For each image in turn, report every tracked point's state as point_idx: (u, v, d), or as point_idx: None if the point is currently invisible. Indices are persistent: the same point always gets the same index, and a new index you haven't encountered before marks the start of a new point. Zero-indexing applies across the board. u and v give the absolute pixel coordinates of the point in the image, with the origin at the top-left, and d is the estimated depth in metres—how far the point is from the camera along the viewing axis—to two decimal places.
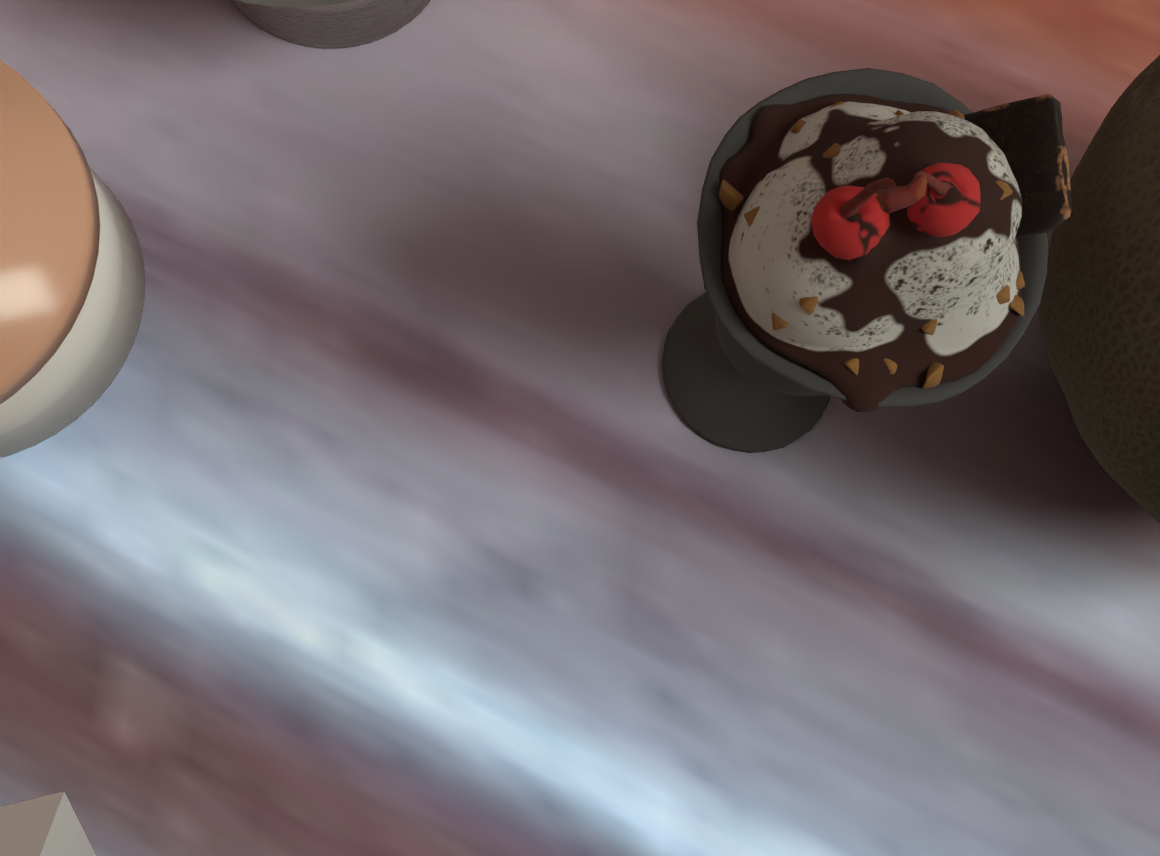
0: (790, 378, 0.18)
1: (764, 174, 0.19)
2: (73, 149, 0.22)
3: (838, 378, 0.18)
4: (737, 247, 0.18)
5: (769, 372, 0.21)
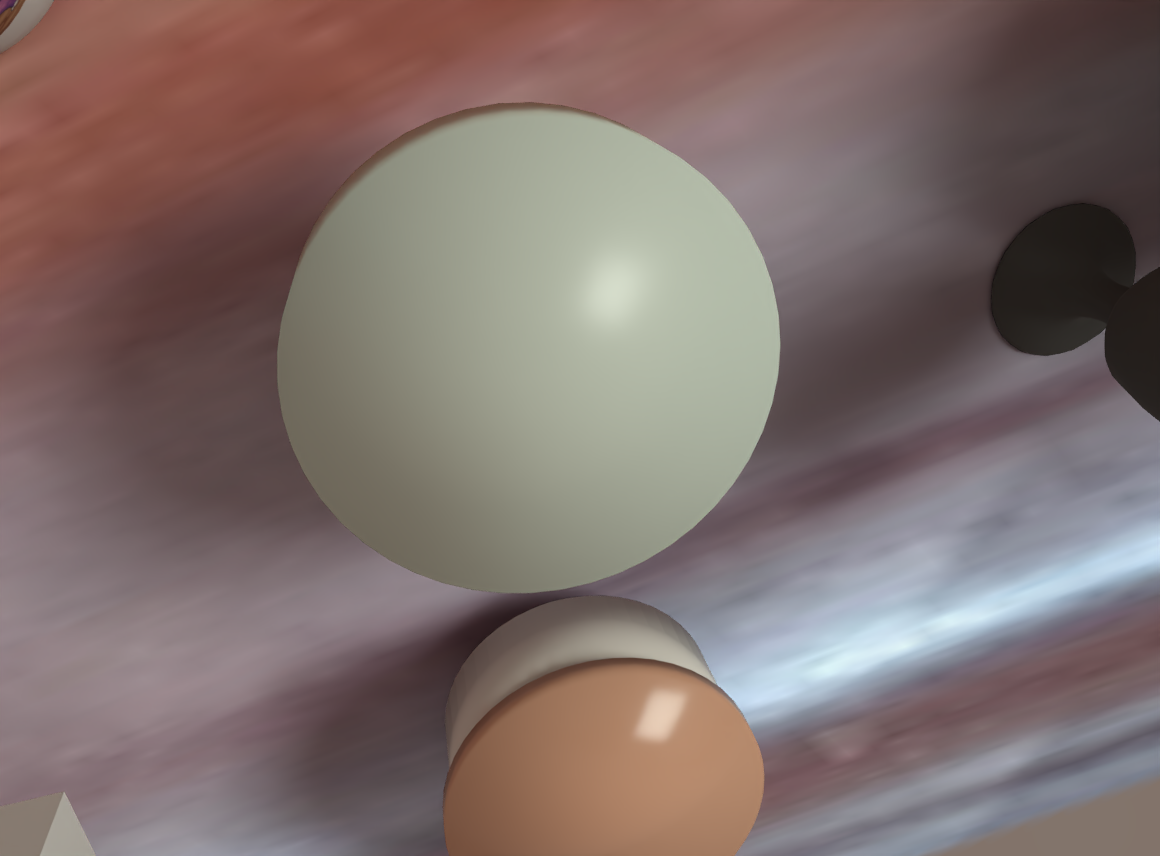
0: None
1: None
2: (671, 678, 0.28)
3: None
4: None
5: None
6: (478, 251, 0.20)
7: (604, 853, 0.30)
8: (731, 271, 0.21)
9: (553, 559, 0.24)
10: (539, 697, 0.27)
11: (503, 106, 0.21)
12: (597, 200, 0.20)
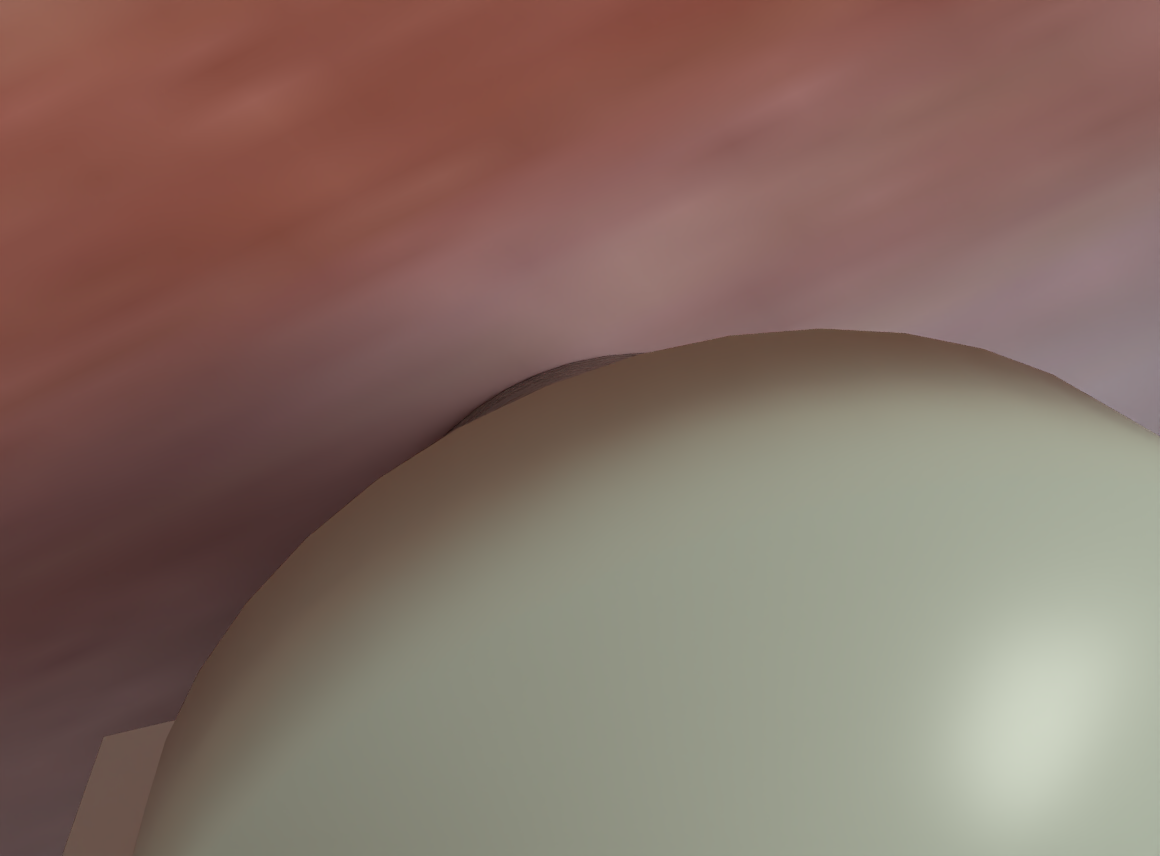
0: None
1: None
2: None
3: None
4: None
5: None
6: None
7: None
8: None
9: None
10: None
11: (762, 361, 0.07)
12: (1101, 701, 0.06)
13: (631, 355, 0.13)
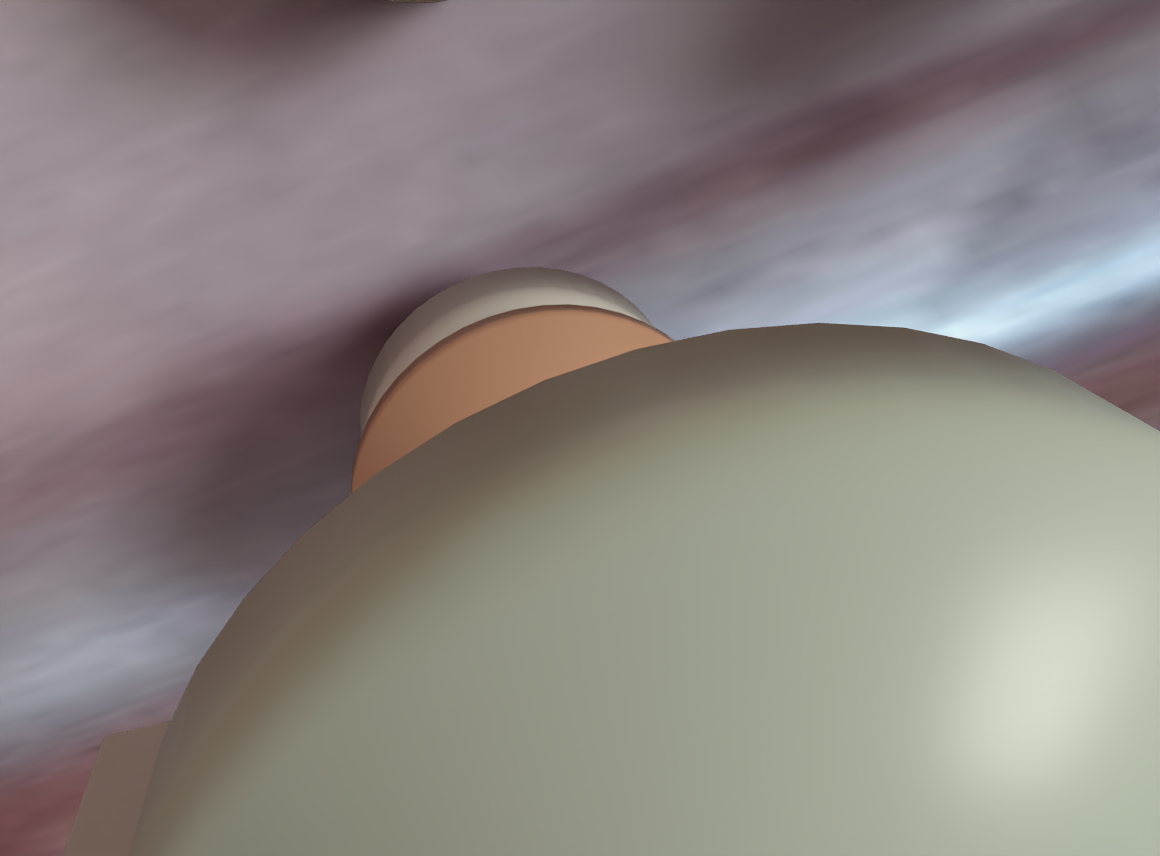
0: None
1: None
2: (591, 317, 0.22)
3: None
4: None
5: None
6: None
7: None
8: None
9: None
10: (429, 364, 0.22)
11: (760, 355, 0.07)
12: (1102, 693, 0.06)
13: None
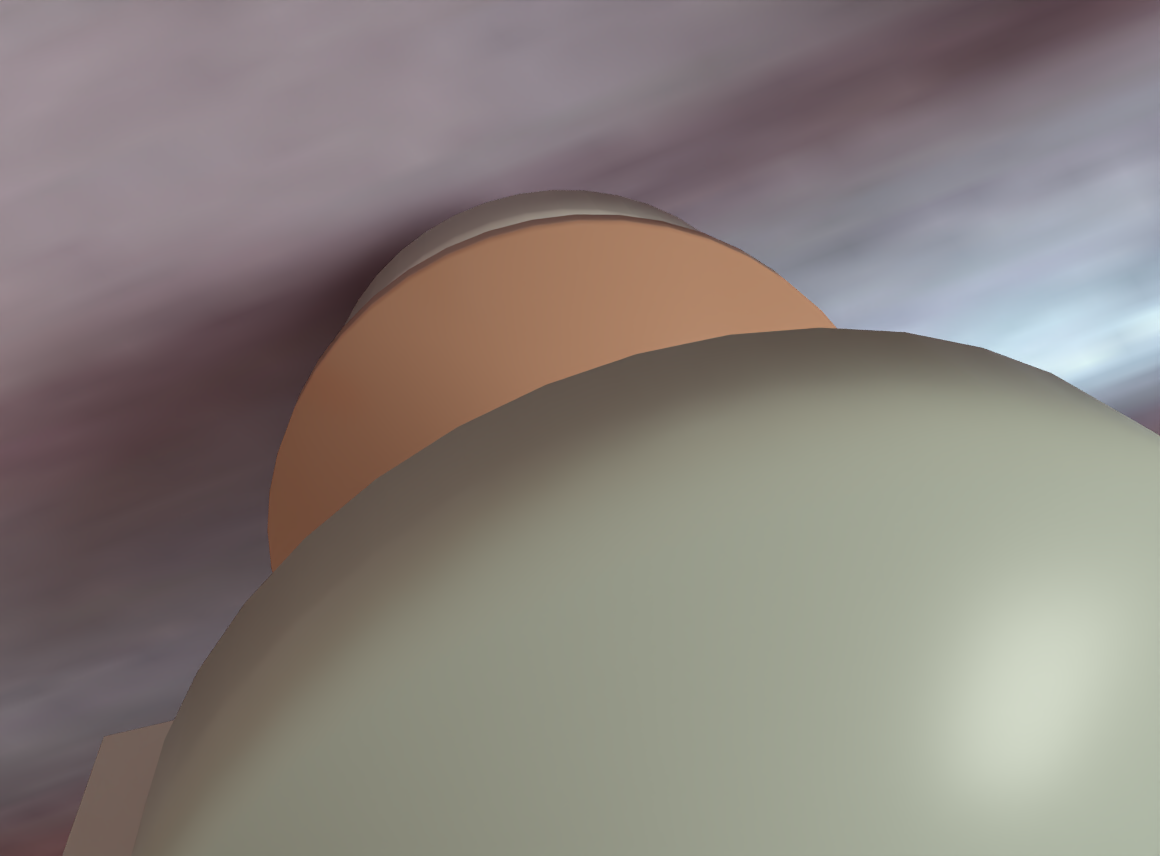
0: None
1: None
2: (606, 226, 0.13)
3: None
4: None
5: None
6: None
7: None
8: None
9: None
10: (351, 330, 0.14)
11: (761, 360, 0.07)
12: (1102, 700, 0.06)
13: None
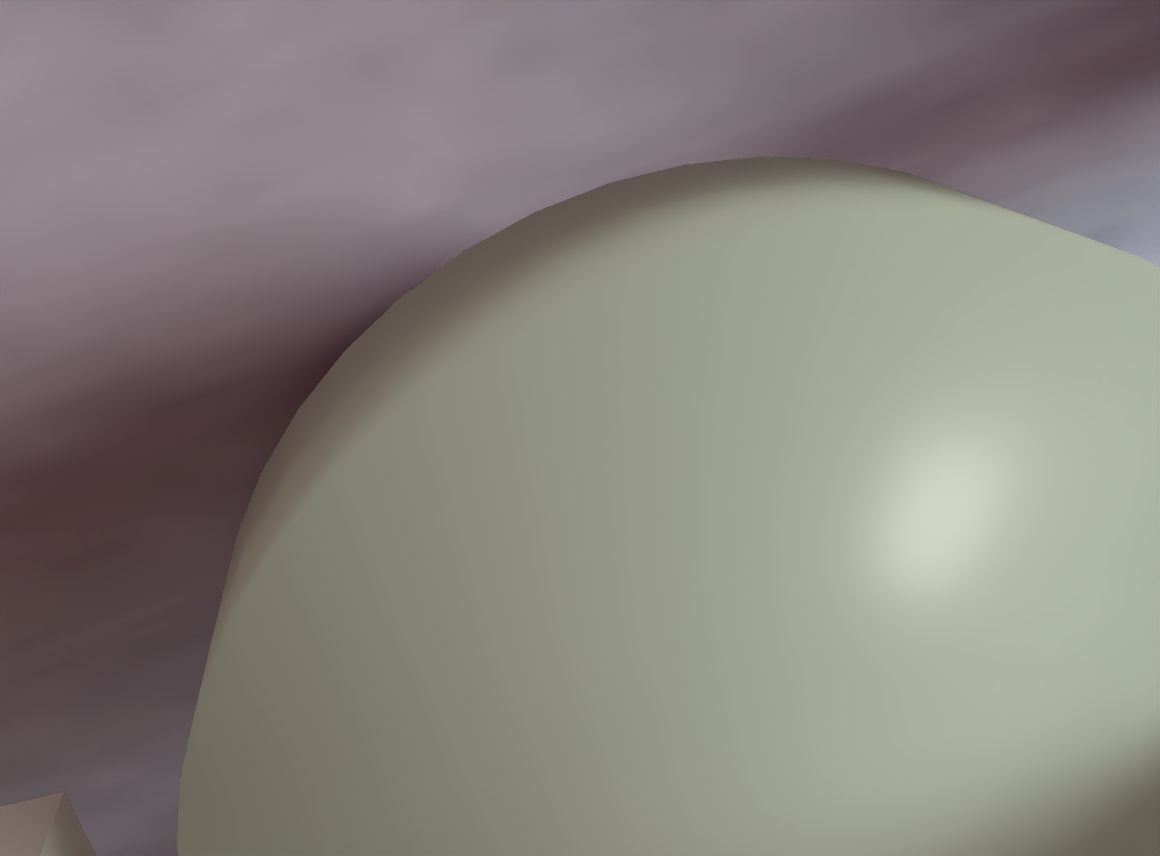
0: None
1: None
2: None
3: None
4: None
5: None
6: (683, 569, 0.08)
7: None
8: None
9: None
10: None
11: (708, 175, 0.09)
12: (989, 417, 0.08)
13: None
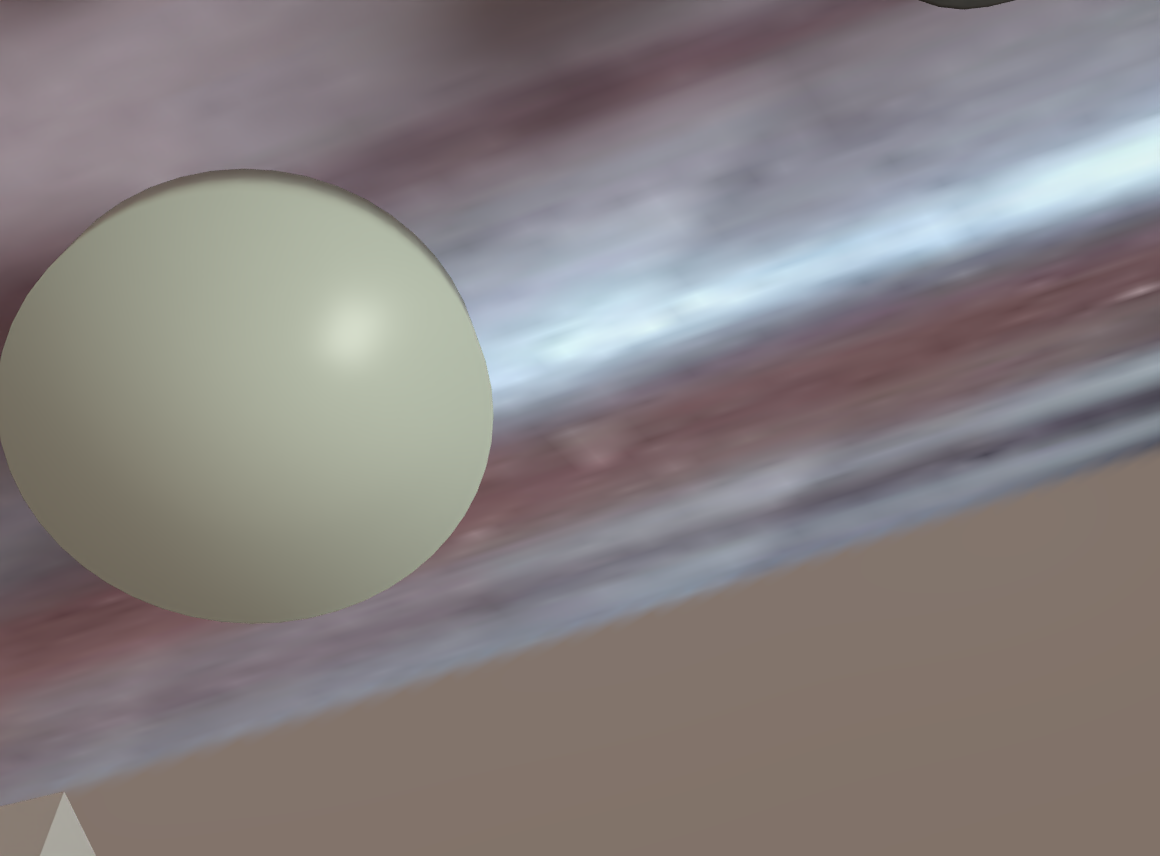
0: (1000, 2, 0.21)
1: None
2: None
3: None
4: None
5: None
6: (181, 315, 0.22)
7: None
8: (433, 323, 0.23)
9: (297, 591, 0.25)
10: None
11: (210, 175, 0.23)
12: (291, 264, 0.22)
13: None
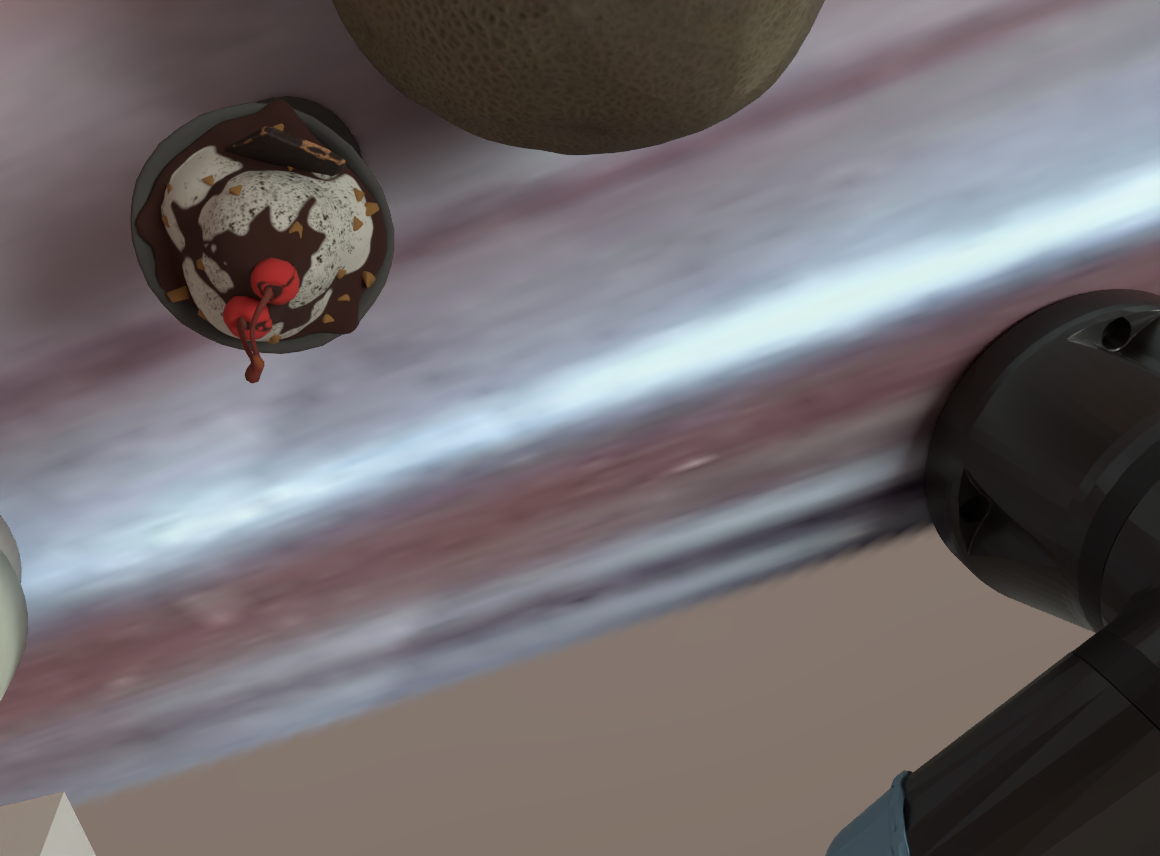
0: (307, 348, 0.28)
1: (181, 264, 0.26)
2: None
3: (328, 329, 0.28)
4: None
5: None
6: None
7: None
8: None
9: None
10: None
11: None
12: None
13: None
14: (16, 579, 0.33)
